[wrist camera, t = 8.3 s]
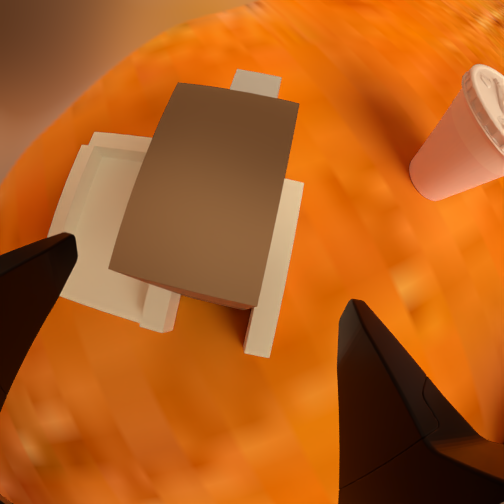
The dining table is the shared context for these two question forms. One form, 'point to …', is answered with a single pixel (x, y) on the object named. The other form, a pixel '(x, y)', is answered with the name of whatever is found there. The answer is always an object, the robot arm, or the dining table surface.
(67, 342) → the dining table surface
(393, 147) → the dining table surface
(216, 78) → the dining table surface
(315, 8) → the dining table surface
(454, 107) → the smoothie
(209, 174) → the brown long block
